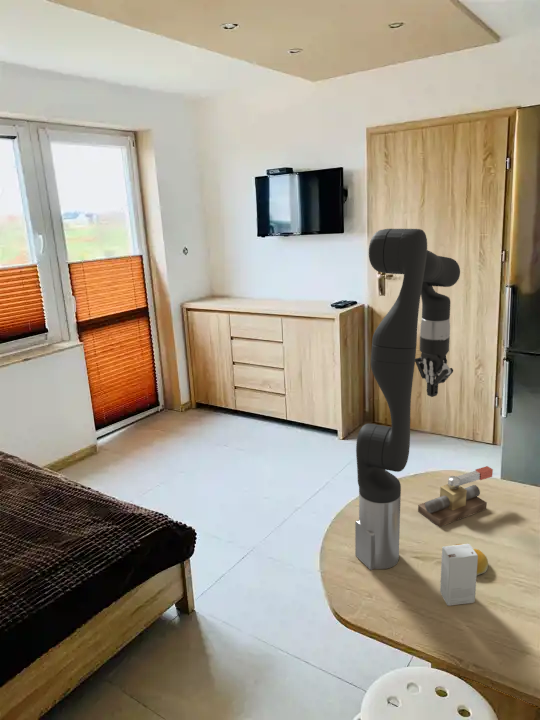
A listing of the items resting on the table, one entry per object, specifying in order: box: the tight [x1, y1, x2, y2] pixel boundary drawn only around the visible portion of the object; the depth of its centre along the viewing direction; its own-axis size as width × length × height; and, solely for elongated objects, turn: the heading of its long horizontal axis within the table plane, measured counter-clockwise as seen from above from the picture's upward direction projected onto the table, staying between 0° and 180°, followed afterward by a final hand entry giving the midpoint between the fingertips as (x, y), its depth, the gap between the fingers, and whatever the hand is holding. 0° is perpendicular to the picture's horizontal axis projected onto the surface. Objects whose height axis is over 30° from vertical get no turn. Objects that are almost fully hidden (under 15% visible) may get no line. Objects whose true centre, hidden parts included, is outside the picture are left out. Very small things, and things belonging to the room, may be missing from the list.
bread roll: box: [455, 543, 489, 576], centre depth 128 cm, size 8×9×4 cm
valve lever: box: [447, 465, 494, 489], centre depth 148 cm, size 13×3×2 cm, turn 113°
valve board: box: [417, 483, 488, 528], centre depth 147 cm, size 16×8×7 cm, turn 116°
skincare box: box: [439, 543, 478, 607], centre depth 116 cm, size 6×4×12 cm
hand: (432, 395), depth 154 cm, fingers closed
